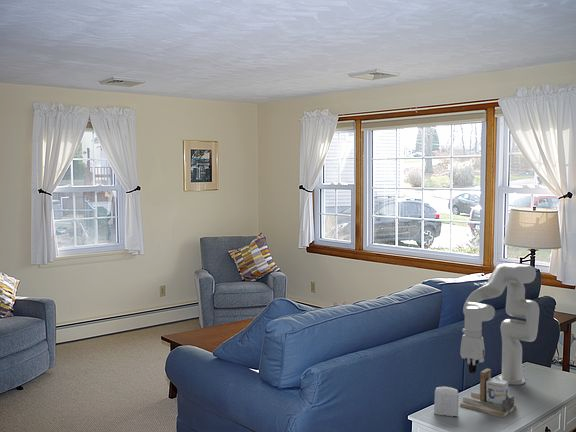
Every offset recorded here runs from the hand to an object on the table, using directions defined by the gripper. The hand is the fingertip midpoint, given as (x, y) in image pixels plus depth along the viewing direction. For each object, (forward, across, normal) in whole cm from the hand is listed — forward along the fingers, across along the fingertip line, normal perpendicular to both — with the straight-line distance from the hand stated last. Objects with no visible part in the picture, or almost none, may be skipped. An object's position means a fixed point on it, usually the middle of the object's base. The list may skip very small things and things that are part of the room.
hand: (472, 372), depth 280 cm
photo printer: (+15, -3, -20) cm, 25 cm away
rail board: (+14, +8, 0) cm, 16 cm away
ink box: (+13, +12, 0) cm, 18 cm away
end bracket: (+13, +6, 0) cm, 14 cm away
